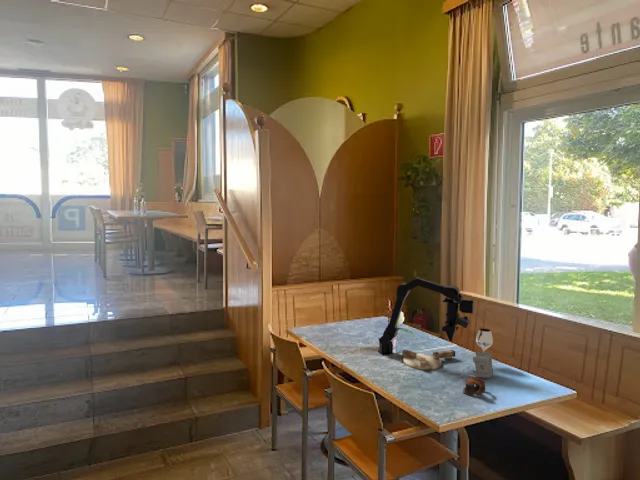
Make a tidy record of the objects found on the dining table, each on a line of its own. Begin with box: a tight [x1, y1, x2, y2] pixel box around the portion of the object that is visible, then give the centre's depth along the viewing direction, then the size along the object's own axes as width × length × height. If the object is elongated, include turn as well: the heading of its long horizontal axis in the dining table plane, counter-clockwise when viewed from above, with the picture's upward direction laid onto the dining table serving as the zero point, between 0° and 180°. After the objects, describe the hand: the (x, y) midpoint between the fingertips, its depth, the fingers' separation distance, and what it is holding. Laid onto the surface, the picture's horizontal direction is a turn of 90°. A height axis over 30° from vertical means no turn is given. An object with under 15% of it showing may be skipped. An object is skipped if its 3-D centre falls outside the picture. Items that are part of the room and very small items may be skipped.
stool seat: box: [401, 349, 442, 371], centre depth 244 cm, size 19×20×4 cm
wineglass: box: [475, 327, 494, 352], centre depth 243 cm, size 8×8×18 cm
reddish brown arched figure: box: [462, 375, 487, 398], centre depth 207 cm, size 12×10×8 cm
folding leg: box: [432, 349, 456, 359], centre depth 248 cm, size 12×3×3 cm, turn 111°
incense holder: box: [472, 351, 494, 379], centre depth 228 cm, size 10×8×10 cm
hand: (450, 341), depth 242 cm, fingers closed
